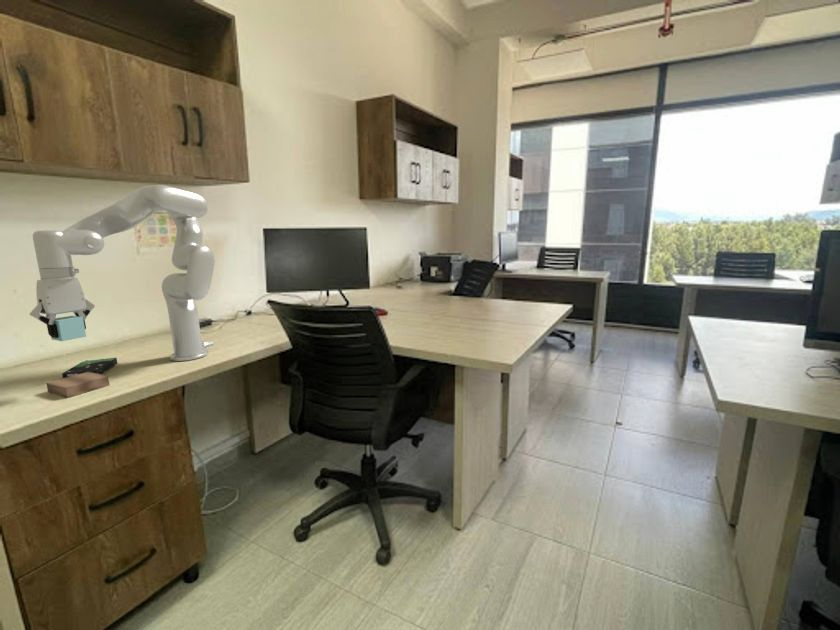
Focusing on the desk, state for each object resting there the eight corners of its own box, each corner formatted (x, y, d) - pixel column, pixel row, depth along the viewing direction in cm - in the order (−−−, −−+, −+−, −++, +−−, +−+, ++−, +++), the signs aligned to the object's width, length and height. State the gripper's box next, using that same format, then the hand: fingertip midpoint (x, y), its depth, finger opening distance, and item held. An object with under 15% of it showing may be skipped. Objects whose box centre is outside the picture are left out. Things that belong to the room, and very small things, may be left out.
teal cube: (75, 334, 127) (72, 315, 126) (86, 336, 124) (82, 317, 123) (51, 339, 122) (47, 319, 121) (62, 341, 119) (58, 320, 118)
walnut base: (90, 380, 133) (88, 371, 133) (109, 385, 129) (108, 376, 128) (48, 392, 124) (46, 382, 123) (67, 398, 119) (65, 388, 118)
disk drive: (100, 378, 138) (118, 364, 152) (98, 370, 137) (117, 356, 151) (63, 381, 135) (85, 367, 149) (61, 373, 134) (83, 359, 148)
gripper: (84, 271, 129) (94, 327, 132) (12, 276, 113) (25, 340, 117) (98, 271, 125) (107, 329, 129) (25, 277, 110) (38, 343, 114)
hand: (68, 334), depth 123 cm, fingers closed on teal cube, 6 cm apart
